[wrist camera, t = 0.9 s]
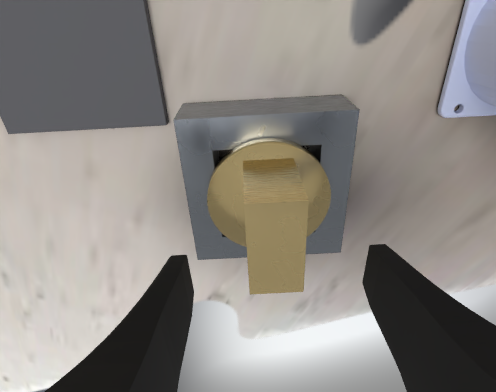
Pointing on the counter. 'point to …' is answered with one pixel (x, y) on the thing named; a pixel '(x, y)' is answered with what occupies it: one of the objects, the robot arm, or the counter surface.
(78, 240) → the counter surface
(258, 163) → the end cover
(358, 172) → the counter surface
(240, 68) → the counter surface
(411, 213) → the counter surface
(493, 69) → the robot arm
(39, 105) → the mat
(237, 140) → the housing
